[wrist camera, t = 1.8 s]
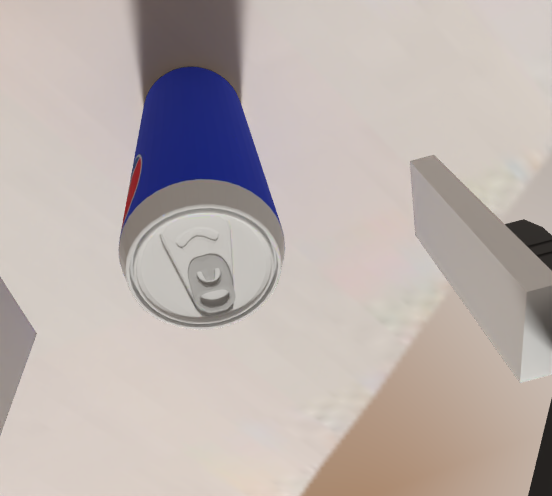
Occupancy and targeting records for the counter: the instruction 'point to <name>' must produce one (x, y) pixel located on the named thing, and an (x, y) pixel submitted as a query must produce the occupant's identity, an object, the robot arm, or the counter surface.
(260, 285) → the beverage can
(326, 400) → the counter surface
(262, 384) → the counter surface
